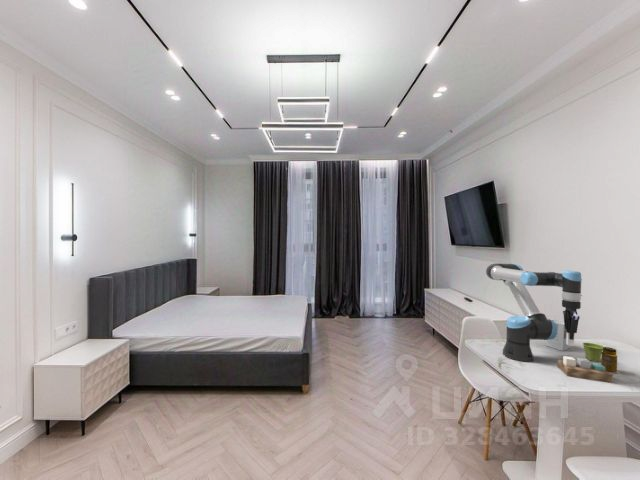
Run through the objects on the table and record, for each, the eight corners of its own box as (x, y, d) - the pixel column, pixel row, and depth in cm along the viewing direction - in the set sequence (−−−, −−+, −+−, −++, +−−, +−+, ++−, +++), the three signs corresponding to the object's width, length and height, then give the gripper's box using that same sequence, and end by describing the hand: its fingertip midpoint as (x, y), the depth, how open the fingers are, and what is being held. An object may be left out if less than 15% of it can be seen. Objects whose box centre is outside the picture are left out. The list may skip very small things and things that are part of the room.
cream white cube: (566, 366, 153) (566, 358, 153) (562, 363, 157) (563, 356, 157) (575, 367, 152) (575, 360, 152) (572, 364, 156) (572, 357, 156)
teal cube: (595, 374, 149) (595, 366, 149) (591, 370, 153) (591, 363, 153) (605, 375, 148) (605, 367, 148) (600, 372, 152) (600, 364, 152)
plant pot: (608, 364, 167) (608, 348, 167) (589, 362, 168) (589, 347, 168) (596, 357, 176) (596, 343, 176) (578, 356, 178) (578, 341, 178)
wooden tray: (567, 375, 150) (567, 368, 150) (557, 366, 161) (557, 359, 161) (612, 382, 144) (612, 374, 144) (598, 372, 155) (599, 365, 155)
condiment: (621, 373, 155) (622, 350, 155) (609, 374, 154) (610, 351, 154) (605, 367, 163) (605, 345, 163) (593, 368, 161) (594, 346, 161)
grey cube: (580, 368, 151) (580, 360, 151) (576, 365, 155) (577, 357, 155) (590, 369, 150) (590, 362, 150) (586, 366, 154) (586, 359, 154)
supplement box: (563, 351, 186) (563, 324, 185) (546, 346, 194) (546, 320, 194) (569, 348, 190) (570, 322, 190) (553, 343, 198) (553, 319, 198)
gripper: (586, 303, 147) (585, 350, 147) (574, 298, 159) (573, 342, 159) (568, 301, 150) (566, 347, 150) (557, 297, 162) (556, 340, 162)
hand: (570, 344), depth 154 cm, fingers closed
